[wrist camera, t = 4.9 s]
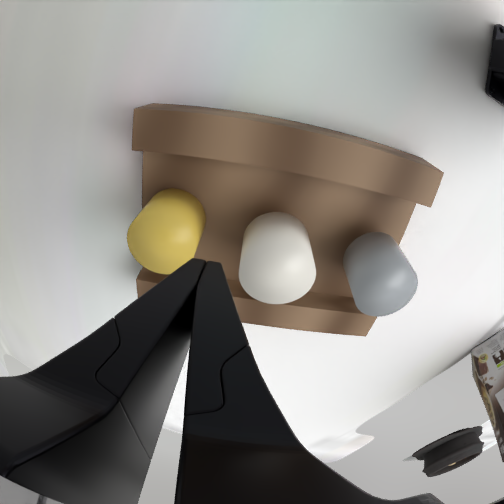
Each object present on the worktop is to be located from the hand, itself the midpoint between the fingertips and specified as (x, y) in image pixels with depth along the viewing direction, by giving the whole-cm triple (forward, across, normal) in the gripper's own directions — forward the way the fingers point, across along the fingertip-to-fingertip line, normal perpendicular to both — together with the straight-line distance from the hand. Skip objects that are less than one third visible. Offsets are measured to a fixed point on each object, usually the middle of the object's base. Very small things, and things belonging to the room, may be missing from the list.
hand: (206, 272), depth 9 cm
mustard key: (+10, +4, +4) cm, 11 cm away
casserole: (+12, -58, +52) cm, 79 cm away
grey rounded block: (+9, -9, +4) cm, 14 cm away
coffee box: (+12, -37, +17) cm, 42 cm away
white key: (+9, -3, +4) cm, 10 cm away
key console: (+11, -3, +4) cm, 12 cm away
